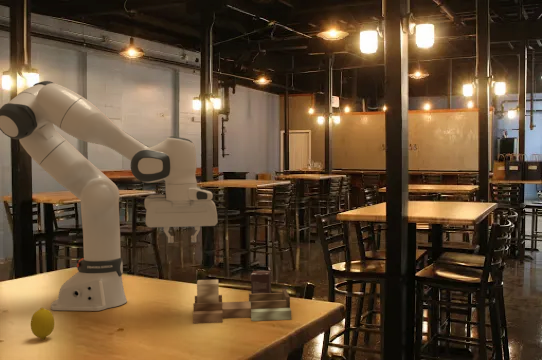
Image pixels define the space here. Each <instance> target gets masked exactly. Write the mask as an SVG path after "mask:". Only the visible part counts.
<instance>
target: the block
mask: <svg viewBox="0 0 542 360" xmlns="http://www.w3.org/2000/svg"><path fill="white" fill-rule="evenodd" d="M219 290H220V289H219V279H198V280H197V281H196V296H197V303H216V302H219V295H220V292H219Z"/></svg>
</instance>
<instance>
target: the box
mask: <svg viewBox="0 0 542 360" xmlns="http://www.w3.org/2000/svg"><path fill="white" fill-rule="evenodd" d="M271 273H272V272H271V270H253V271H252V273H251V274H250V289H251V290H250V291H251V292H250V294H258V293H272V281H271V280H272V274H271Z"/></svg>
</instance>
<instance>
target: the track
mask: <svg viewBox="0 0 542 360" xmlns="http://www.w3.org/2000/svg"><path fill="white" fill-rule="evenodd" d="M281 291H282V292H271V293H258V294H251V293H249V294H248V300H247V301H223V294H219V302H216V303H197V295H194V303H193V307H192V308H193V311H192V324H211V323H214V324H215V323H223V319H235V318H236V319H238V318H240V319H241V318H250V320H251V322H257V321H258V322H260V321H284V320H287V321H290V320H292V309H291V297H290V295H289V293H288V291H287V289H285V288H284V289H283V288H282V290H281Z"/></svg>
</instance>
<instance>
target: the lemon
mask: <svg viewBox="0 0 542 360" xmlns="http://www.w3.org/2000/svg"><path fill="white" fill-rule="evenodd" d="M54 328H55V318H54V314H53V312H51V311H50V310H49V309H47V308H44V307H40V309H38V310H36V311H35V312H34V313H33V315H32V316H31V320H30V329H31V331H32V334H33V336H35V337H37V338H40V339H41V340H45V339H46V338H47V337H49V336H50V335H51V334H52V333H53V332H54Z"/></svg>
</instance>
